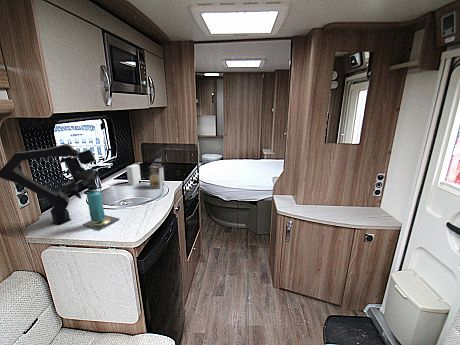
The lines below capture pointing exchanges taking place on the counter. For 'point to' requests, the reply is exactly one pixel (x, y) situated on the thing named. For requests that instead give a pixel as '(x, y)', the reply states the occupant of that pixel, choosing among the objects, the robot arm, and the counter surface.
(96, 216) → the beverage bottle
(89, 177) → the robot arm
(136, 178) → the skincare box
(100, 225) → the coupling plate
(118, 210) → the counter surface
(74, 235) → the counter surface
